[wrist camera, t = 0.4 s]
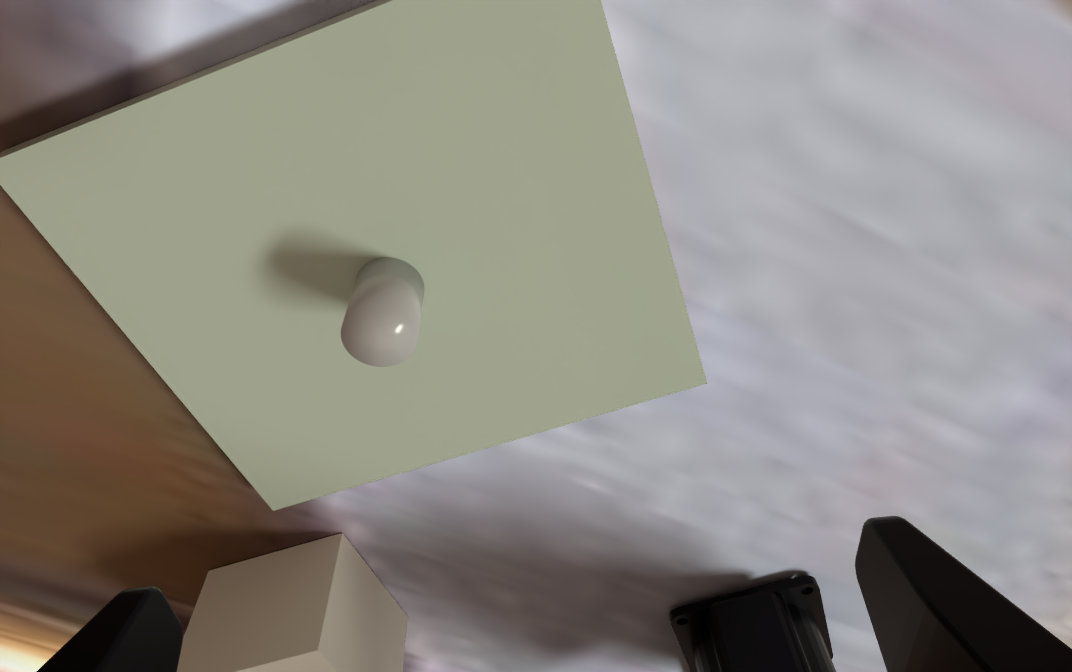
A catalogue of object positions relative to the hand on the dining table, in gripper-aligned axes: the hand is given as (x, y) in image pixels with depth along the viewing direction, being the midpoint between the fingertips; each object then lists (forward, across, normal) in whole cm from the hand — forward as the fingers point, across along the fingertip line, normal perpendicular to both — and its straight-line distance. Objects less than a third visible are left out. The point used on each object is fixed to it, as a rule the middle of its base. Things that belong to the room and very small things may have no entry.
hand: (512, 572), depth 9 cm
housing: (+14, +10, +18) cm, 25 cm away
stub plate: (+14, +4, +3) cm, 14 cm away
